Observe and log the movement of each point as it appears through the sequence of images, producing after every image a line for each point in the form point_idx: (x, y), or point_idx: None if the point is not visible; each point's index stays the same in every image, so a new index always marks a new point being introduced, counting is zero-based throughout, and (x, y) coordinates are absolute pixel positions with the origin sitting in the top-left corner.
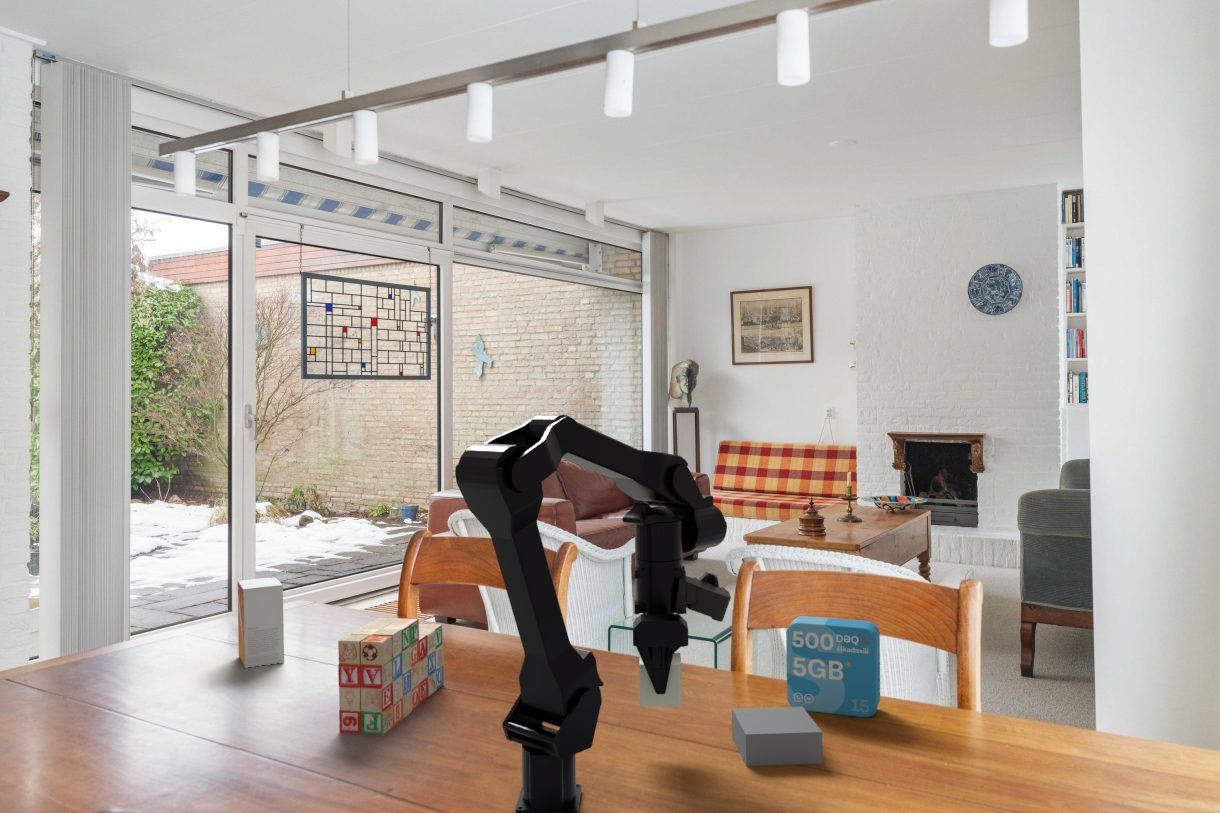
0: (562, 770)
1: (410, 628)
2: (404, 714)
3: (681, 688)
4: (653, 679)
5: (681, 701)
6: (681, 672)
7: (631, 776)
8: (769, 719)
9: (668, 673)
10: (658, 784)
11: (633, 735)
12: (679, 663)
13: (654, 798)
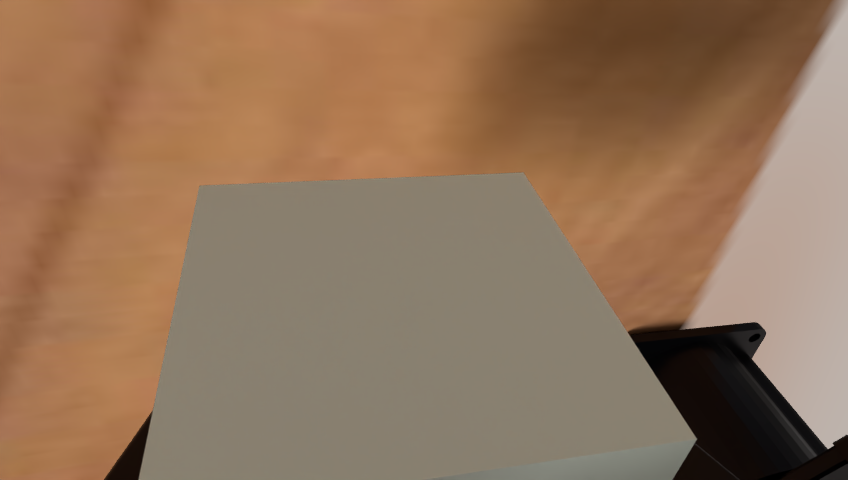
0: (810, 434)
1: None
2: None
3: (577, 257)
4: None
5: (538, 196)
6: (647, 364)
7: (561, 227)
8: None
9: (701, 451)
10: (648, 142)
11: (141, 250)
12: (652, 458)
13: (744, 152)
